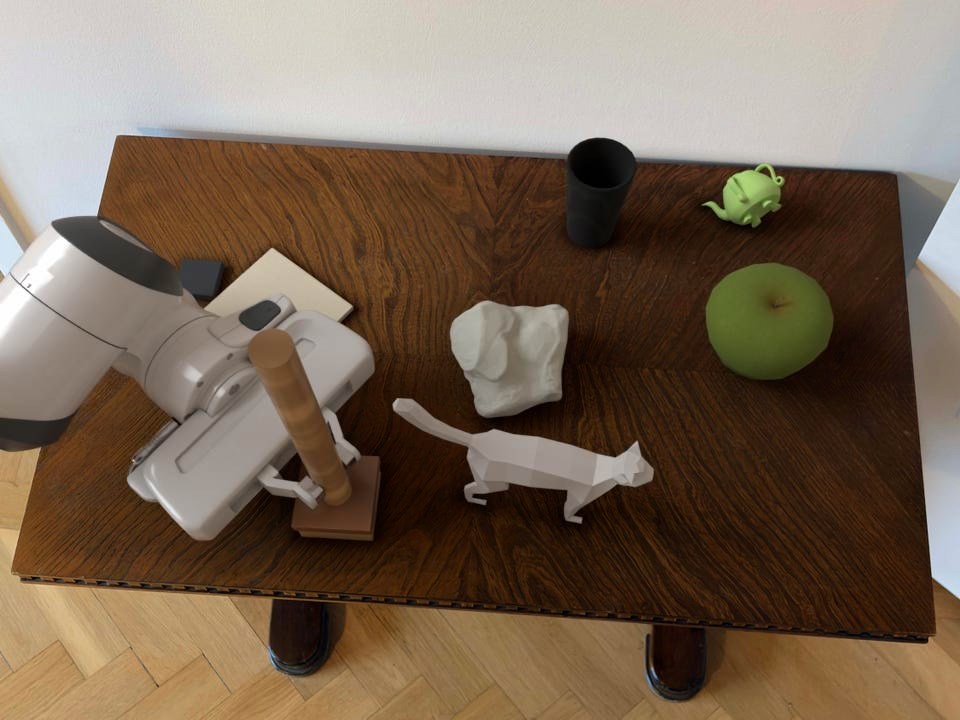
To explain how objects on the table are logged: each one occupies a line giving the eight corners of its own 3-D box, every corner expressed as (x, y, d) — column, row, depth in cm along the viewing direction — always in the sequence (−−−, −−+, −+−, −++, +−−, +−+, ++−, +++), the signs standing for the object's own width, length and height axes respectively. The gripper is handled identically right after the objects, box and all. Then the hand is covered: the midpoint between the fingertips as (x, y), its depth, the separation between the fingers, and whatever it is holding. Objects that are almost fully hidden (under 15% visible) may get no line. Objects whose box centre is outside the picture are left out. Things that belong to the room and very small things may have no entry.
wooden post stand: (375, 543, 71) (318, 402, 46) (299, 539, 71) (202, 396, 46) (383, 471, 74) (335, 302, 49) (310, 467, 74) (225, 296, 49)
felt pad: (215, 301, 82) (212, 295, 81) (175, 298, 82) (171, 292, 81) (225, 266, 84) (222, 261, 83) (185, 264, 84) (182, 258, 83)
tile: (272, 389, 78) (271, 386, 77) (191, 324, 81) (189, 321, 80) (354, 309, 82) (353, 306, 81) (273, 250, 85) (272, 247, 84)
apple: (795, 303, 82) (833, 242, 73) (817, 402, 77) (861, 349, 68) (683, 305, 82) (708, 244, 73) (698, 404, 77) (727, 351, 68)
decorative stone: (475, 435, 74) (448, 333, 69) (462, 389, 82) (436, 295, 78) (595, 402, 74) (575, 298, 70) (570, 359, 82) (550, 264, 78)
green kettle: (750, 184, 89) (766, 147, 84) (781, 221, 86) (799, 185, 81) (701, 206, 87) (714, 169, 82) (730, 244, 85) (746, 208, 80)
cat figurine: (630, 538, 71) (662, 480, 59) (399, 490, 73) (383, 425, 61) (636, 488, 73) (669, 422, 61) (412, 443, 75) (398, 370, 63)
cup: (547, 239, 85) (554, 173, 77) (575, 195, 88) (585, 127, 79) (604, 264, 84) (618, 201, 75) (631, 220, 87) (648, 153, 78)
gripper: (98, 458, 63) (227, 576, 59) (293, 278, 70) (419, 371, 66) (129, 487, 68) (249, 595, 64) (306, 317, 76) (424, 405, 72)
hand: (337, 480), depth 65 cm, fingers closed on wooden post stand, 2 cm apart
